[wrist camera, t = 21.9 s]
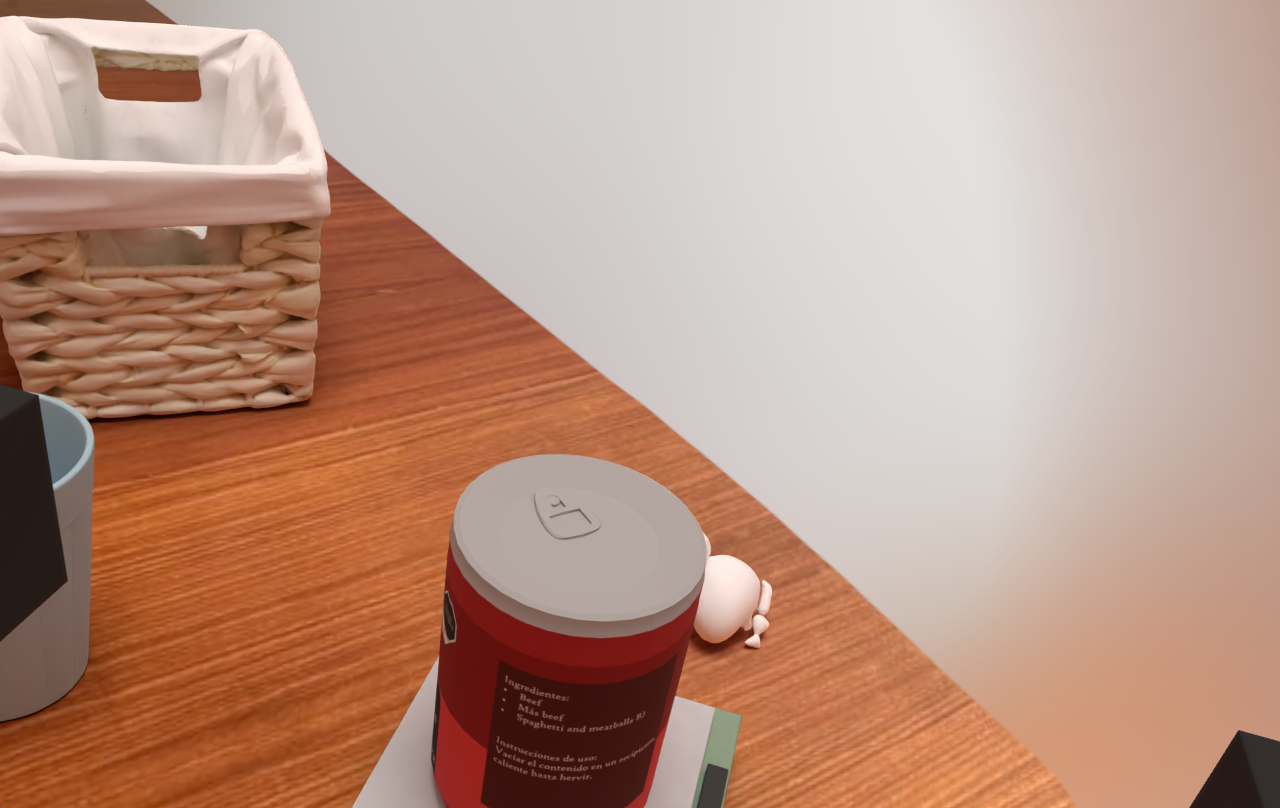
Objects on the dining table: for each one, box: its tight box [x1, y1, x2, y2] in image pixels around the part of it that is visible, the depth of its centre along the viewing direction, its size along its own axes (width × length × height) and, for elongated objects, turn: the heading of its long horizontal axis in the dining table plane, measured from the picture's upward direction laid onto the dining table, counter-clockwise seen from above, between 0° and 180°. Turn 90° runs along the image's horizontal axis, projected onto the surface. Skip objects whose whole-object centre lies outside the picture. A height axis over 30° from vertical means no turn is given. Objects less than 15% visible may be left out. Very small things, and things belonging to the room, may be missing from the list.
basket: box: [0, 16, 331, 419], centre depth 61 cm, size 24×16×15 cm
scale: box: [352, 657, 742, 808], centre depth 39 cm, size 12×12×3 cm
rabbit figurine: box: [693, 533, 772, 648], centre depth 49 cm, size 6×4×8 cm
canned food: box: [431, 454, 707, 808], centre depth 35 cm, size 8×8×11 cm
